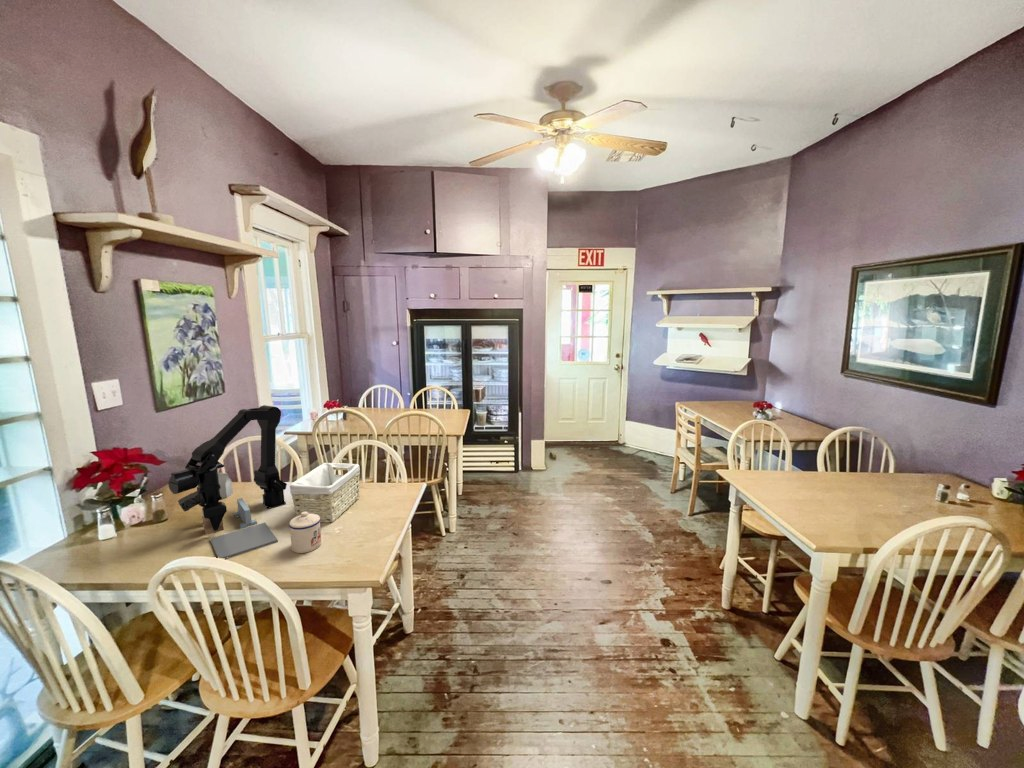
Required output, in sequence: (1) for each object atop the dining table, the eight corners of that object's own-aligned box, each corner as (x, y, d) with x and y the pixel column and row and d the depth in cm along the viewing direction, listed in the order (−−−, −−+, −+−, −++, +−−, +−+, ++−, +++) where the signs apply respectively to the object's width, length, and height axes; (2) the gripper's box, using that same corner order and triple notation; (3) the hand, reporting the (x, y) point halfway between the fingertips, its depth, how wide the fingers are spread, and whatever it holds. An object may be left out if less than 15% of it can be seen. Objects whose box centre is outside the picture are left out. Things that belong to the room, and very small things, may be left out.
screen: (248, 511, 157) (247, 496, 156) (257, 523, 147) (255, 508, 146) (233, 515, 153) (231, 500, 152) (240, 528, 144) (239, 512, 143)
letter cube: (221, 524, 147) (219, 511, 146) (223, 530, 143) (222, 516, 142) (203, 529, 143) (202, 515, 142) (206, 535, 140) (204, 520, 139)
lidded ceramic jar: (317, 552, 129) (314, 518, 127) (286, 555, 128) (283, 520, 126) (328, 533, 141) (326, 501, 139) (300, 535, 140) (297, 503, 138)
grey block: (226, 498, 168) (224, 475, 167) (210, 498, 168) (207, 474, 167) (232, 494, 172) (230, 471, 170) (216, 494, 172) (214, 471, 170)
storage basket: (332, 525, 147) (330, 486, 144) (290, 523, 148) (286, 484, 146) (363, 497, 170) (361, 463, 168) (326, 495, 172) (324, 461, 169)
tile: (265, 524, 147) (265, 522, 147) (277, 541, 135) (277, 539, 135) (210, 540, 136) (210, 538, 136) (219, 561, 125) (218, 558, 124)
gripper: (175, 481, 142) (181, 523, 144) (181, 498, 128) (187, 544, 131) (215, 473, 149) (219, 513, 152) (224, 488, 136) (229, 532, 138)
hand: (213, 525), depth 143 cm, fingers open, 9 cm apart
